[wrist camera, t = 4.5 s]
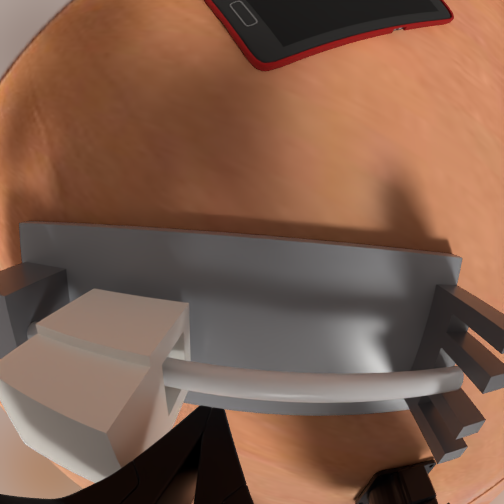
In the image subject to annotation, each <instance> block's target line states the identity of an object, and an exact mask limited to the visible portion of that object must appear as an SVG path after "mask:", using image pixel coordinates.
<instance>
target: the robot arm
mask: <svg viewBox="0 0 504 504" xmlns="http://www.w3.org/2000/svg"><path fill="white" fill-rule="evenodd" d="M435 465H436V462H435V460H431V461H427V462H424V463H420V464H415V465H411V466H407V467H402V468H397V469H392V470H386V471H381V472H378V473H376V474H375V475H374V477H373V478H372V480H371V481H370V483H369V484H368V485H367V487H366V488H365V489H364V491H363V492H362V493H361V495H360V496H359V497H358V499H357V500H356V501H355V504H438V502H437V499H436V493H435V490H434V488H433V485H432V483H431V480H430V478H429V476H428V474H429V472H430V471H431V470H432V469H433V467H434V466H435ZM194 495H195V498H194ZM193 498H194V504H254V503H253V500H252V498H251V495H250V492H249V489H248V486H247V485H246V481H245V477H244V474H243V471H242V468H241V465H240V462H239V458H238V455H237V452H236V448H235V445H234V441H233V438H232V434H231V431H230V427H229V424H228V420H227V416H226V413H225V410H224V409H223V408H216V407H213V408H212V407H210V406H204V405H200V406H199V407H197V408H196V409H195V410H194V411H193V412H192V413H191V414H189V415H188V416H187V417H186V418H185V419H183V420H182V421H181V422H180V423H179V424H178V425H176V426H175V427H174V428H173V429H171V430H170V431H169V432H168V433H167V434H165V435H164V436H163V437H162V438H160V439H159V440H158V441H157V442H155V443H154V444H153V445H152V446H150V447H149V448H148V449H146V450H145V451H144V452H143V453H141V454H140V455H139V456H137V457H136V458H135V459H133V461H130V462H129V463H128V464H126V465H125V466H124V467H122V468H121V469H119V470H118V471H116V472H115V473H113V474H112V475H110V476H108V477H106V478H104V479H103V480H101V481H99V482H97V483H95V484H93V485H91V486H89V487H87V488H84V489H82V490H80V491H78V492H76V493H74V494H71V495H69V496H66V497H62V498H57V499H39V498H26V497H17V496H9V495H3V494H0V504H191V503H192V501H193ZM447 504H450V503H447Z"/></svg>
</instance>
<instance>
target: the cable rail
mask: <svg viewBox="0 0 504 504" xmlns="http://www.w3.org/2000/svg"><path fill="white" fill-rule="evenodd" d="M19 231H20V246H21V257H22V263H21V264H18V265H15V266H12V267H10V268H7V269H4V270H2V271H0V359H2V358H3V357H4V356H6V355H7V354H9V353H10V352H11V351H13V350H14V349H16V348H17V347H18V346H20V345H21V344H23V343H24V342H26V341H27V340H29V339H30V338H32V337H33V336H34V335H36V334H37V333H38V332H37V328H36V323H38V322H39V321H41V320H42V319H44V318H46V317H47V316H49V315H50V314H52V313H54V312H55V311H57V310H59V309H60V308H62V307H64V306H65V305H67V304H69V303H70V302H72V301H74V300H75V299H77V298H79V297H80V296H82V295H84V294H85V293H87V292H89V291H90V290H92V289H94V288H95V289H101V290H106V291H112V292H118V293H124V294H130V295H136V296H143V297H149V298H156V299H163V300H170V301H177V302H185V303H189V322H190V358H191V361H186V360H180V359H175V358H169V357H167V358H166V359H165V361H164V362H163V364H162V370H163V379H164V386H168V387H173V388H178V389H183V390H188V393H187V395H186V397H185V400H184V403H189V404H194V405H204V406H210V407H216V408H223V409H227V410H235V411H244V412H254V413H266V414H281V415H313V416H325V415H357V414H372V413H383V412H393V411H401V410H409V409H410V411H411V413H412V415H413V417H414V419H415V420H416V422H417V424H418V426H419V428H420V430H421V432H422V434H423V436H424V438H425V440H426V442H427V444H428V446H429V448H430V450H431V452H432V454H433V456H434V458H435V460H436V462H437V464H440V463H443V462H446V461H450V460H453V459H456V458H458V457H460V456H461V455H462V454H463V452H464V451H465V450H466V448H467V447H468V446H467V445H466V443H465V441H464V440H463V438H462V437H465V436H469V435H471V434H474V433H477V432H478V431H479V430H480V428H481V426H482V425H483V423H484V422H485V420H486V419H485V418H484V417H483V415H482V414H481V413H480V411H479V410H478V409H477V408H476V406H475V405H474V404H473V402H472V401H471V400H470V399H469V397H468V396H467V395H466V394H465V392H464V391H463V390H462V389H461V385H462V383H463V377H464V376H463V372H464V373H465V374H466V375H467V376H468V377H469V379H470V380H471V381H472V382H473V383H474V384H475V385H476V387H477V388H478V389H479V390H480V391H481V392H482V394H484V393H488V392H491V391H494V390H498V389H501V388H504V363H502V362H501V361H500V360H499V359H498V358H497V357H496V356H495V355H494V354H492V353H491V352H490V351H489V350H488V349H487V348H486V347H484V346H483V345H482V344H481V343H480V342H479V341H478V340H476V339H475V338H474V337H473V336H472V335H471V334H469V333H468V332H467V330H468V327H470V328H471V329H472V330H473V331H475V332H476V333H477V334H478V335H480V336H481V337H482V338H483V339H484V340H486V341H487V342H488V343H489V344H490V345H492V346H493V347H494V348H495V349H496V350H497V351H499V352H500V353H501V354H503V353H504V314H503V313H501V312H499V311H498V310H496V309H495V308H493V307H492V306H490V305H488V304H487V303H485V302H484V301H482V300H480V299H479V298H477V297H476V296H474V295H472V294H471V293H469V292H467V291H466V290H464V289H462V288H461V287H459V286H457V282H458V277H459V273H460V268H461V263H462V257H459V256H457V255H454V254H449V253H441V252H432V251H423V250H413V249H404V248H395V247H385V246H375V245H365V244H355V243H344V242H334V241H323V240H312V239H301V238H289V237H277V236H265V235H253V234H240V233H227V232H214V231H200V230H186V229H171V228H156V227H140V226H123V225H106V224H87V223H66V222H44V221H26V222H21V223H19ZM455 363H456V364H457V365H458V366H454V365H455Z"/></svg>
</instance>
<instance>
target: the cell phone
mask: <svg viewBox="0 0 504 504" xmlns="http://www.w3.org/2000/svg"><path fill="white" fill-rule="evenodd" d="M204 1H205V2H206V4H207V5H208V6H209V7H210V8H211V10H212V11H213V13H214V14H215V15H216V17H217V18H218V19H220V20H221V22H222V23H223V24H224V26H225V27H226V28H227V30H228V32H229V34H230V35H231V37H232V38H233V40H234V41H235V42H236V44H237V45H238V47H239V48H240V50H241V51H242V52H244V53H243V54H244V55H245V57H246V58H247V59H248V61H249V62H250V63H251V64H252V65H253V66H254V67H255V68H256V69H258V70H260V71H270V70H273V69H276V68H280V67H283V66H285V65H288V64H290V63H293V62H296V61H298V60H301V59H304V58H306V57H309V56H312V55H315V54H318V53H320V52H323V51H326V50H329V49H333V48H336V47H339V46H342V45H346V44H349V43H353V42H356V41H360V40H364V39H368V38H372V37H376V36H380V35H384V34H389V33H392V32H393V31H394V30H400V29H403V30H409V29H415V28H421V27H428V26H435V25H444V24H447V23H450V22H451V21H452V20H453V19H454V16H453V13H452V11H451V10H450V8H449V7H448V6H447V4H446V3H445V2H444V1H443V0H204Z"/></svg>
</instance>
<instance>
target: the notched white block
mask: <svg viewBox="0 0 504 504" xmlns="http://www.w3.org/2000/svg"><path fill="white" fill-rule="evenodd" d="M36 328H37V332H38V333H37V334H36V335H34V336H33V337H32V338H30V339H29V340H27V341H26V342H24V343H23V344H21V345H20V346H18V347H17V348H16V349H14V350H13V351H11V352H10V353H9V354H7V355H6V356H4V357H3V358H2V359H0V401H1V403H2V405H3V407H4V409H5V411H6V413H7V414H8V416H9V418H10V420H11V422H12V424H13V425H14V427H15V429H16V430H17V432H18V434H19V435H20V437H21V439H22V440H23V442H24V444H26V445H27V446H29V447H30V448H32V449H33V450H35V451H37V452H38V453H40V454H41V455H43V456H45V457H46V458H48V459H50V460H51V461H53V462H55V463H57V464H58V465H60V466H62V467H64V468H66V469H68V470H70V471H71V472H73V473H75V474H77V475H79V476H81V477H84V478H86V479H88V480H90V481H92V482H94V483H97V482H99V481H101V480H103V479H104V478H106V477H108V476H110V475H112V474H113V473H115V472H116V471H118V470H119V469H121V468H122V467H124V466H125V465H126V464H128V463H129V462H130V461H133V459H135V458H136V457H137V456H139V455H140V454H141V453H143V452H144V451H145V450H146V449H148V448H149V447H150V446H152V445H153V444H154V443H155V442H157V441H158V440H159V439H160V438H162V437H163V436H164V435H165V434H167V433H168V432H169V431H170V430H171V429H172V428H173V425H174V423H175V421H176V418H177V416H178V414H179V411H180V409H181V407H182V404H183V402H184V400H185V397H186V395H187V393H188V390H183V389H178V388H173V387H168V386H164V379H163V370H162V364H163V362H164V361H165V359H166V358H167V357H169V358H175V359H180V360H186V361H191V358H190V322H189V303H185V302H177V301H170V300H163V299H156V298H149V297H143V296H136V295H130V294H124V293H118V292H112V291H106V290H101V289H95V288H94V289H92V290H90V291H89V292H87V293H85V294H84V295H82V296H80V297H79V298H77V299H75V300H74V301H72V302H70V303H69V304H67V305H65V306H64V307H62V308H60V309H59V310H57V311H55V312H54V313H52V314H50V315H49V316H47V317H46V318H44V319H42V320H41V321H39V322H38V323H36Z"/></svg>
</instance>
